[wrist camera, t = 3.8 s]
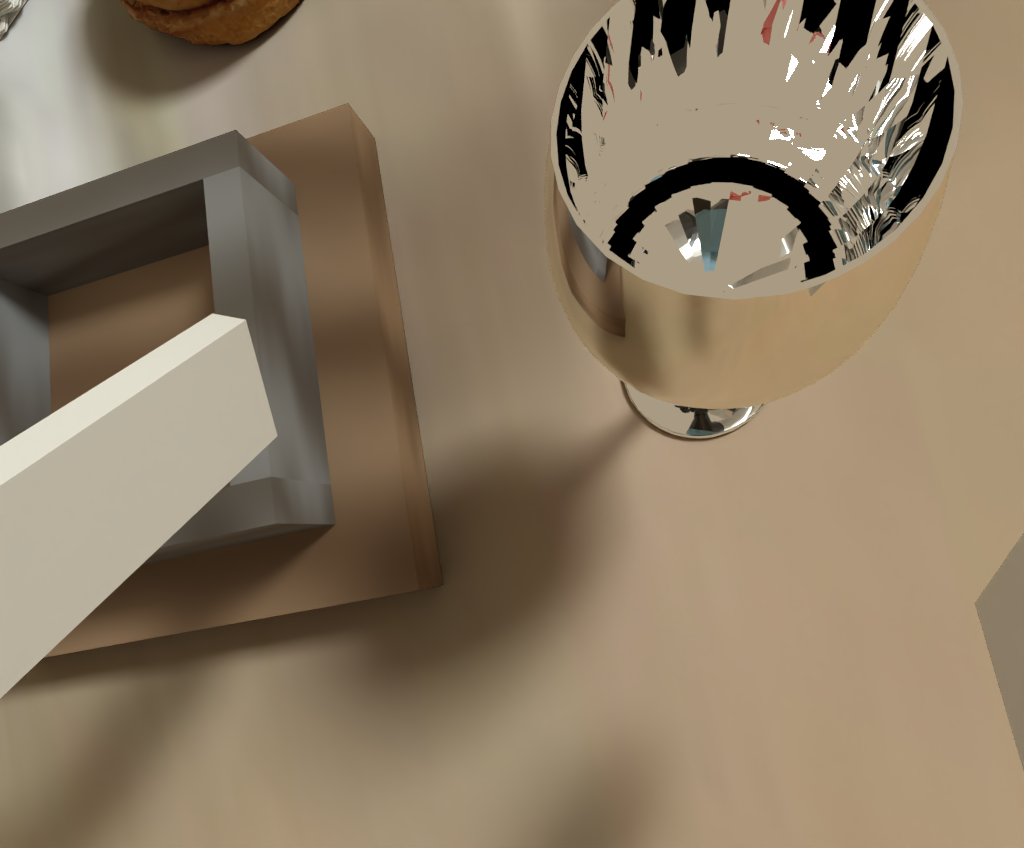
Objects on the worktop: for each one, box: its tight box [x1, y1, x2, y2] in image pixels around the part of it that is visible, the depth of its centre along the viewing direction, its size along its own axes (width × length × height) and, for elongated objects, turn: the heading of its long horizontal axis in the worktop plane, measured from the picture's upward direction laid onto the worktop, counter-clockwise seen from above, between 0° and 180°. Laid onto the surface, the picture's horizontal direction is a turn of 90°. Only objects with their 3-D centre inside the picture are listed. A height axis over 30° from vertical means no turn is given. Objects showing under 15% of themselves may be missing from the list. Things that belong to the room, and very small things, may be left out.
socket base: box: [0, 103, 443, 658], centre depth 21 cm, size 16×16×5 cm
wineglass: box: [545, 0, 963, 439], centre depth 13 cm, size 6×6×12 cm
